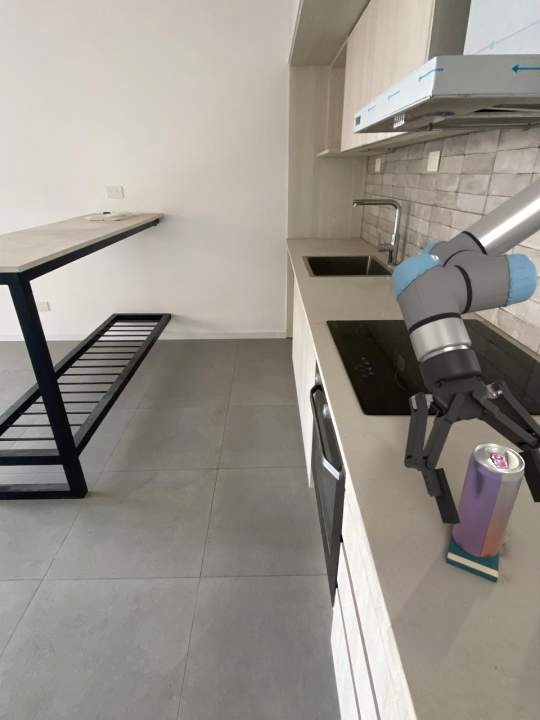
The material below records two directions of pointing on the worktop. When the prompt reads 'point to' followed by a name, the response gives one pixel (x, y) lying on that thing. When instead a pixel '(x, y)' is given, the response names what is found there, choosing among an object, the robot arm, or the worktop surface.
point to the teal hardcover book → (473, 562)
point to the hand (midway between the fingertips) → (499, 512)
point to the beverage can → (487, 499)
